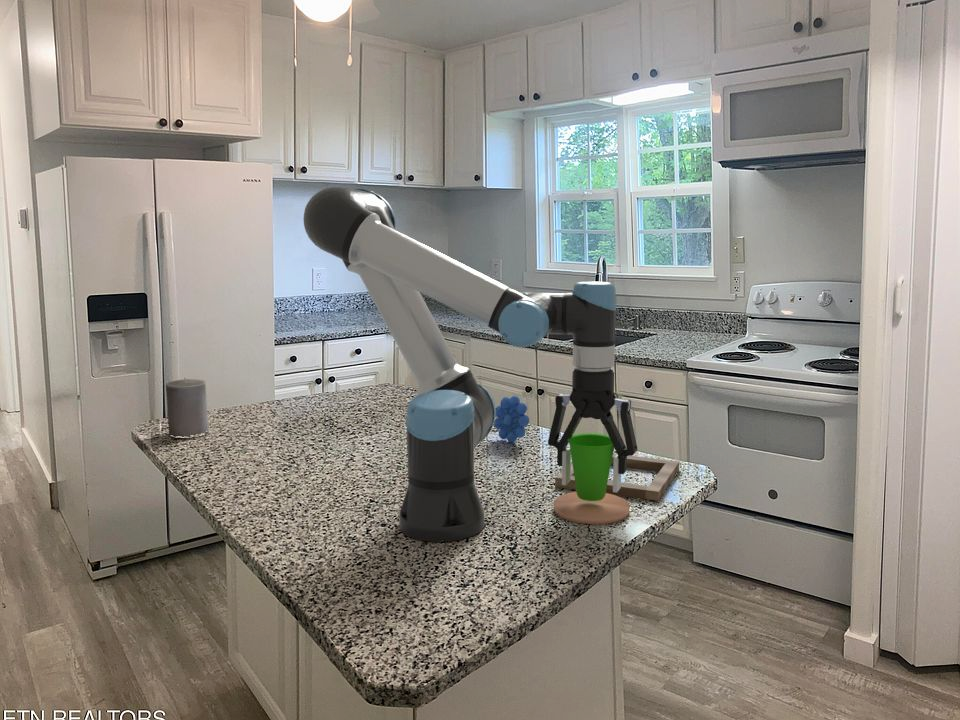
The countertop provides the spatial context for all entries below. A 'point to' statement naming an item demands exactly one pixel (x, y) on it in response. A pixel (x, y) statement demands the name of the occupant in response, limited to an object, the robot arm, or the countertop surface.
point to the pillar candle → (187, 407)
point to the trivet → (591, 509)
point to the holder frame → (633, 490)
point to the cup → (591, 464)
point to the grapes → (511, 419)
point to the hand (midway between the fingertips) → (591, 486)
